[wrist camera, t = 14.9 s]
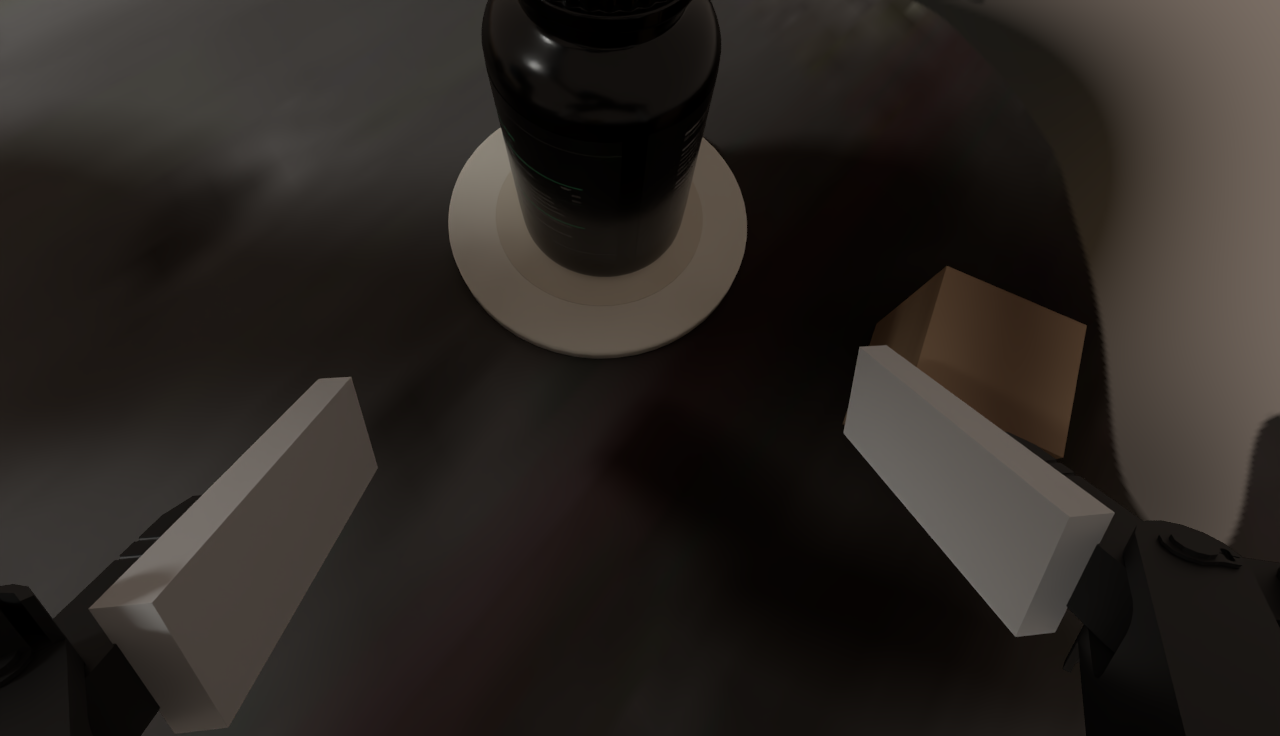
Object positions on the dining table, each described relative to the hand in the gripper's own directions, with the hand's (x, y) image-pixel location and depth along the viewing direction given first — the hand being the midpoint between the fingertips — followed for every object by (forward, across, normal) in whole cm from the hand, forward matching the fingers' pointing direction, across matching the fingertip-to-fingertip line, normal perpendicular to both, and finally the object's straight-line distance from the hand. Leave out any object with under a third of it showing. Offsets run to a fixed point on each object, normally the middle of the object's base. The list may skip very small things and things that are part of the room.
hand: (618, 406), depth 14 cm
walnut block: (+6, +13, -4) cm, 15 cm away
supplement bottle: (+12, 0, +3) cm, 12 cm away
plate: (+12, 0, +3) cm, 12 cm away
